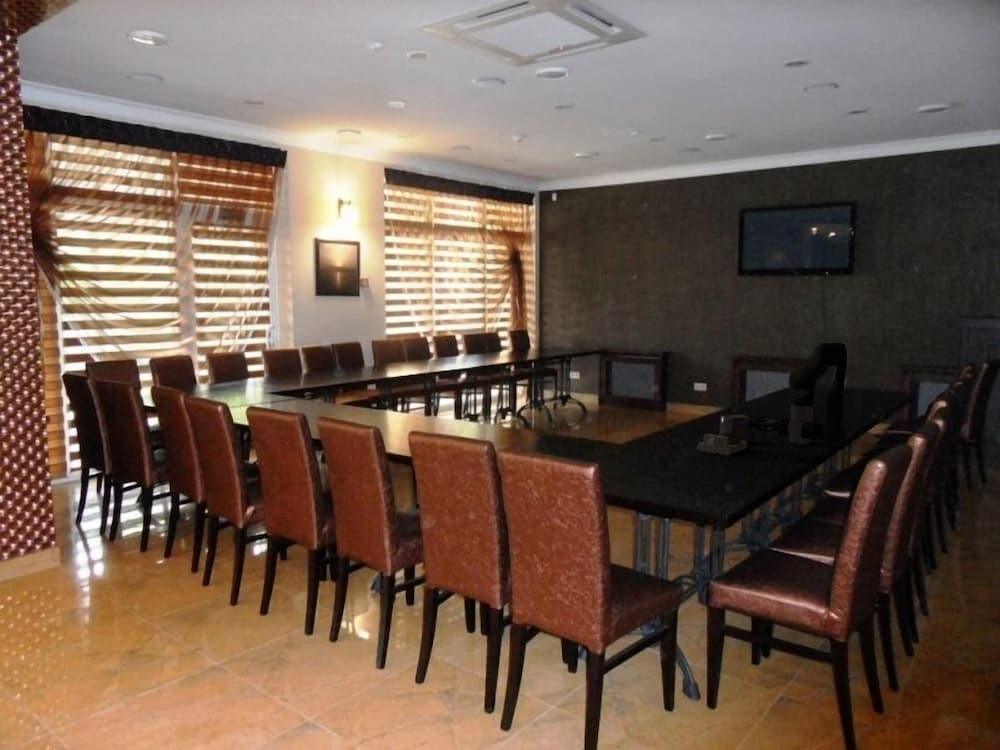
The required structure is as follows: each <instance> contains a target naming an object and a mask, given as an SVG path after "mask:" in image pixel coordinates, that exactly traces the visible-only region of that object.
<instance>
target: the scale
mask: <svg viewBox="0 0 1000 750" xmlns="http://www.w3.org/2000/svg"><path fill="white" fill-rule="evenodd" d="M747 448H748V441H747V442H746V441H741V440H740V439H737V438H733V437H732V438H731V440H730V441H729V437H726V436H720V434H719V435H717V434H712V433H705V434H703V441H700V442H698V443H697V451H698V450H700V451H699V452H704V451H706V453H710V452H712V453H711V454H716V453H719V454H718V455H722V454H724V456H728V455H729V456H732V455H734V454H737V453H739V452H741V450H742V451H744V450H747ZM743 449H744V450H743ZM738 451H739V452H738ZM736 452H737V453H736ZM733 453H734V454H733ZM731 454H732V455H731Z"/></svg>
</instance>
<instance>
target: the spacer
mask: <svg viewBox="0 0 1000 750" xmlns="http://www.w3.org/2000/svg"><path fill="white" fill-rule="evenodd" d="M732 421H733V417H731V416H730V415H720V424H719V436H726V437H729V441H730V440H731V438H732Z"/></svg>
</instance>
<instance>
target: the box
mask: <svg viewBox="0 0 1000 750" xmlns="http://www.w3.org/2000/svg"><path fill="white" fill-rule="evenodd" d="M729 416H731V417H733V421H732V437H733V438H737V439H740V440H741V441H746V442H747V443H748V435H749V433H748V431H749V416H748V415H745V414H744V415H743V414H734V415H732V414H731V415H729Z"/></svg>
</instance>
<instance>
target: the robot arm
mask: <svg viewBox="0 0 1000 750" xmlns="http://www.w3.org/2000/svg"><path fill="white" fill-rule="evenodd" d="M847 363H848V350H847V347H846V345H845V344H844V343H842V342H828V343H827V342H824V343H823V342H822V343H819V344H818V345H817V346H816V347H815V348H814V350H813V352H812V353H811V355H810V356H809V357H807V359H805V361H803V363H802V364H800V366H798V367H797V368H795V369H792V371H791V372H790V374H789V377H788V385H789V387H790V388H791V389H792V390H795V391H804V393H802V394H801V395H798V396H795V397H793V398H792V399H791V402H790V403H791V405H790V418H785V417H782V418H780V419H779V420H778V419H777V420H776V419H760V418H759V419H757V420H756V422H754V421H750V422H749V421H748V428H753V429H757V431H761V432H762V431H763V432H764V431H765V432H769V433H771V432H775V431H777V434H778V435H779V437H784V438H785V437H786V438H788V439H789V441H790V443H793V444H796V443H797V445H809V444H808V443H810V444H812V441H814V440H815V441H816V440H818V441H826V442H827V443H828V444H835V445H836V444H838V443H842V442H844V440H845V439H846V438H847V430H846V429H845V427H844V426H842V420H843V418H844V414H845V413H844V412H845V411H844V410H845V409H844V407H845V406H844V390H845V383H846V373H847ZM828 367H836V370H835V374H834V378H833V379H832V382H831V383H830V385H829V386H828V388H827V390H826V392H825V394H824V398H823V409H824V410H823V413H824V418H823V423H816V422H813V417H814V401H815V395H816V394H815V393H816V384H817V380H819V379H820V378H822V377H823V376H824V375H825V374H826V373H827V371H828Z"/></svg>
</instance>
